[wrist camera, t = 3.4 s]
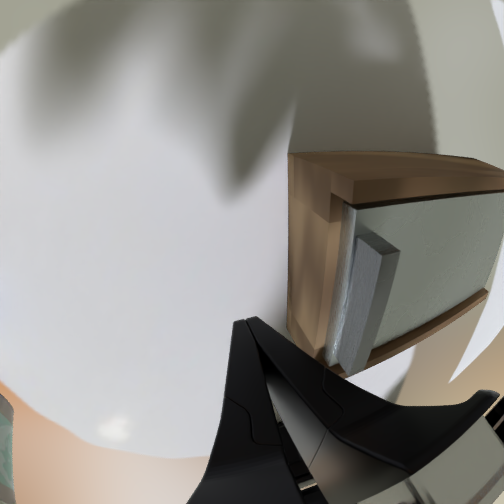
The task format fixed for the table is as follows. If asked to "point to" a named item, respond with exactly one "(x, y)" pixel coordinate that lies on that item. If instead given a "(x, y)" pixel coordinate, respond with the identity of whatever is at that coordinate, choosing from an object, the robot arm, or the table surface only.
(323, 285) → the walnut box
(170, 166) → the table surface
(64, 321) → the table surface
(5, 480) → the coffee cup
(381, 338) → the cover plate
